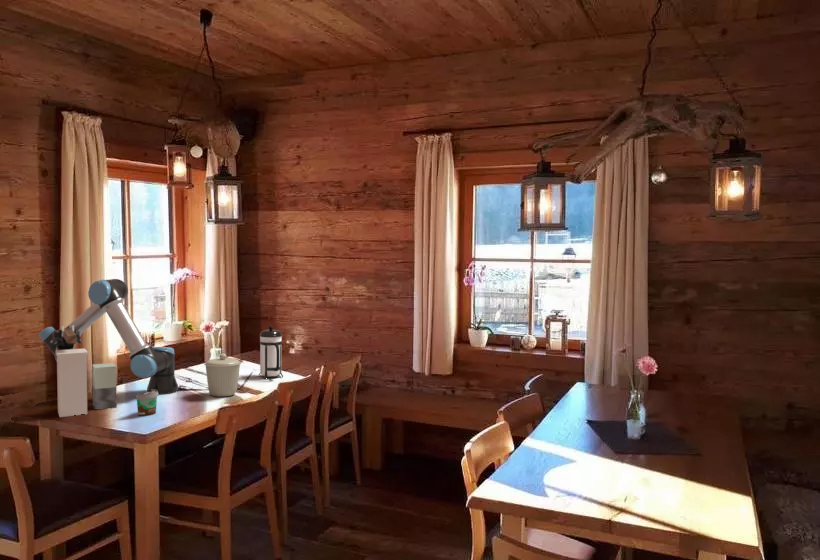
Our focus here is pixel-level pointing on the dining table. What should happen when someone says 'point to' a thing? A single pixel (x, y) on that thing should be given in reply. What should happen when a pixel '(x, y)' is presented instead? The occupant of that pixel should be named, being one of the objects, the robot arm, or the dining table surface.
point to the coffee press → (270, 353)
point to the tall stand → (72, 382)
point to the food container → (147, 403)
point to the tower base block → (104, 398)
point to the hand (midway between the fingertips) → (68, 328)
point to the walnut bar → (70, 335)
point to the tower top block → (104, 375)
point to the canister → (222, 375)
